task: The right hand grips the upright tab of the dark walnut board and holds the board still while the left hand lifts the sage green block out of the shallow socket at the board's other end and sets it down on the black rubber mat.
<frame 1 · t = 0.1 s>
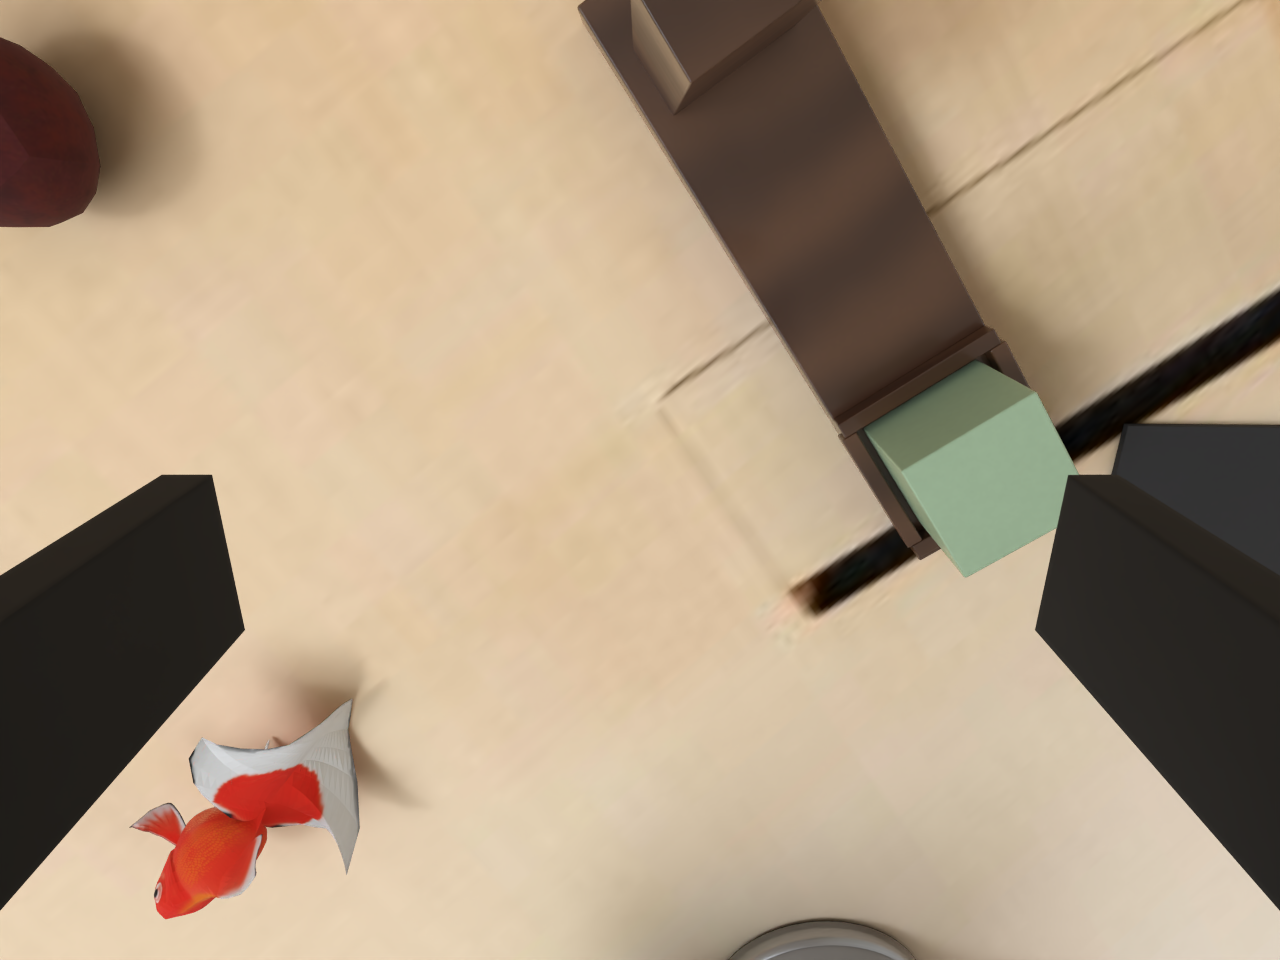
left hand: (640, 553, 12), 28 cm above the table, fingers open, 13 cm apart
rubber mat: (1220, 546, 43), on the table
green block: (946, 443, 38), point 3 cm above the table, touching walnut board
fish: (283, 756, 48), on the table
walnut board: (831, 261, 38), on the table, touching green block
dark red round piece: (55, 139, 36), on the table
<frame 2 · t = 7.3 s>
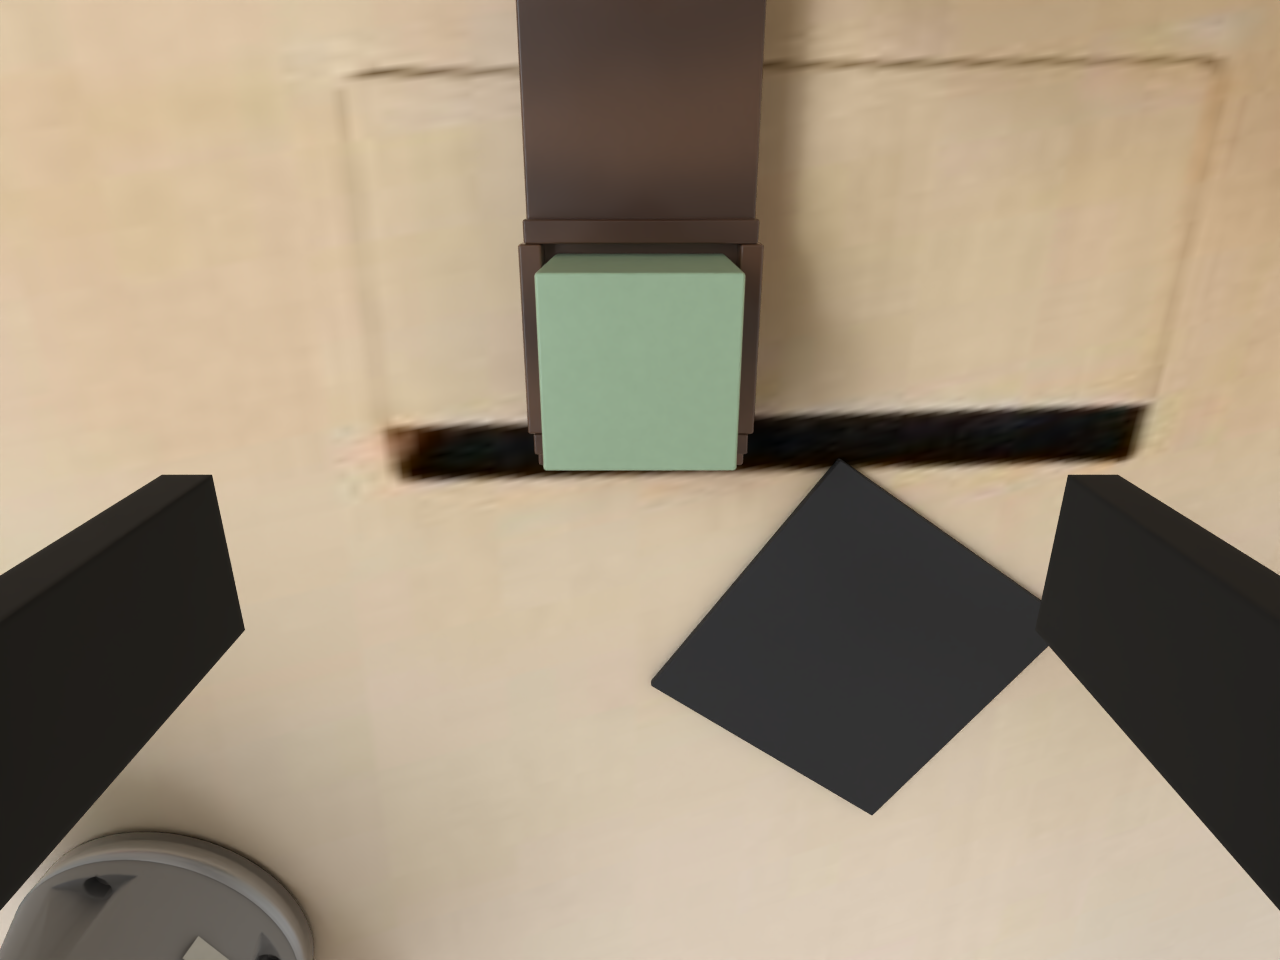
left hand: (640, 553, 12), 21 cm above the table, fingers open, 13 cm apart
rubber mat: (855, 650, 37), on the table
green block: (639, 337, 29), point 3 cm above the table, touching walnut board
walnut board: (640, 43, 28), on the table, touching green block, right hand
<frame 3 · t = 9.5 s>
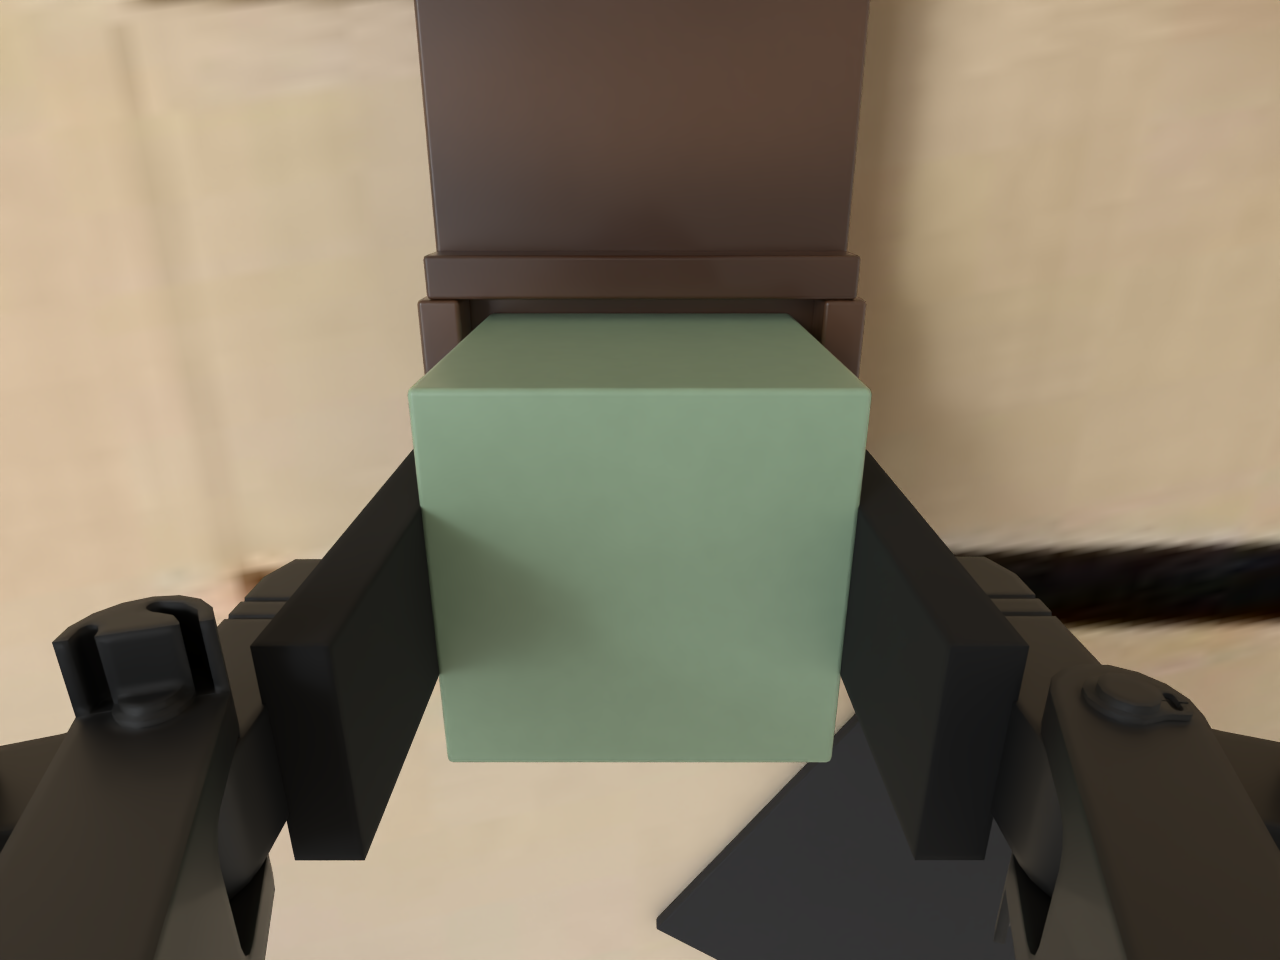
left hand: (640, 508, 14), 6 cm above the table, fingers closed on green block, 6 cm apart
rubber mat: (960, 879, 25), on the table
green block: (639, 454, 17), point 3 cm above the table, touching left hand, walnut board
when the left hand's fingers open (4 cm above the table, at t = 15.7 s): green block stays where it is, resting on rubber mat.
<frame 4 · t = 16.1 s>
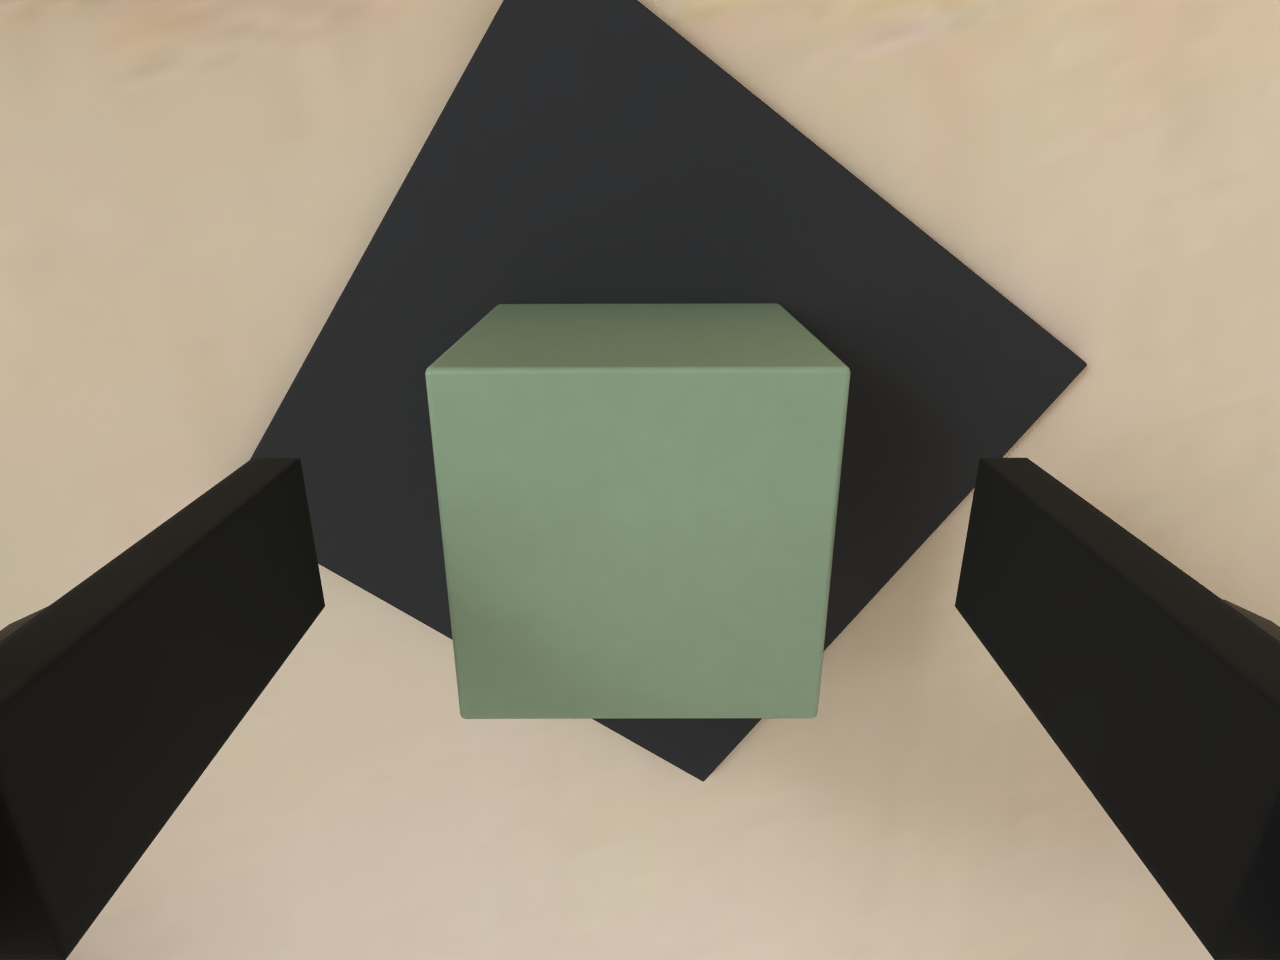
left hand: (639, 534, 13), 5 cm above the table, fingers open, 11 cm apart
rubber mat: (640, 434, 18), on the table
green block: (638, 438, 18), resting on rubber mat
when the right hand's fingers open (5 cm above the table, at t = 18.8 s): walnut board stays where it is, on the table.
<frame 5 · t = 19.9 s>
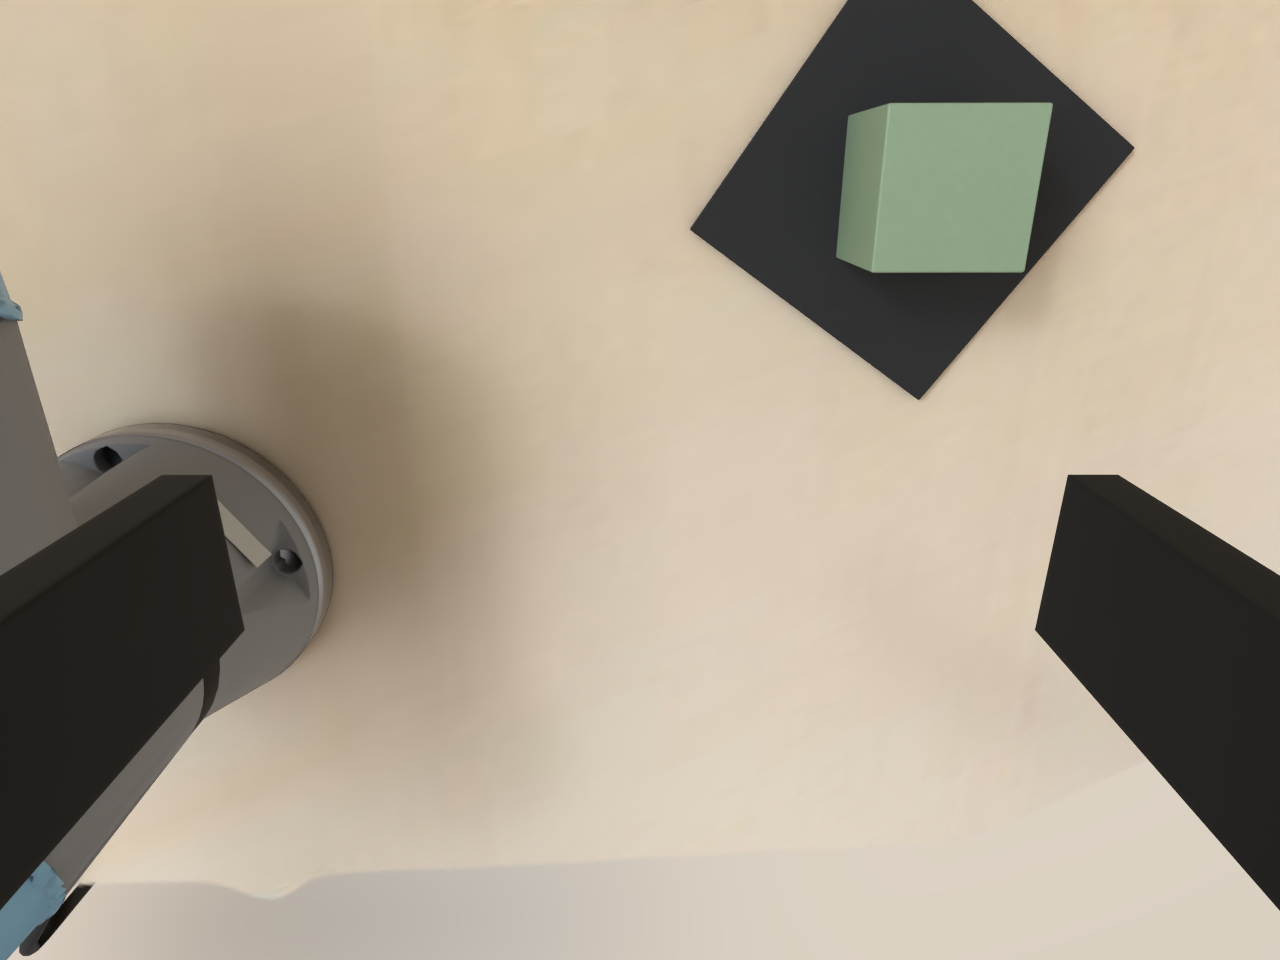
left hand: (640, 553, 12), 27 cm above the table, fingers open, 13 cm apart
rubber mat: (906, 189, 35), on the table
green block: (908, 188, 35), resting on rubber mat
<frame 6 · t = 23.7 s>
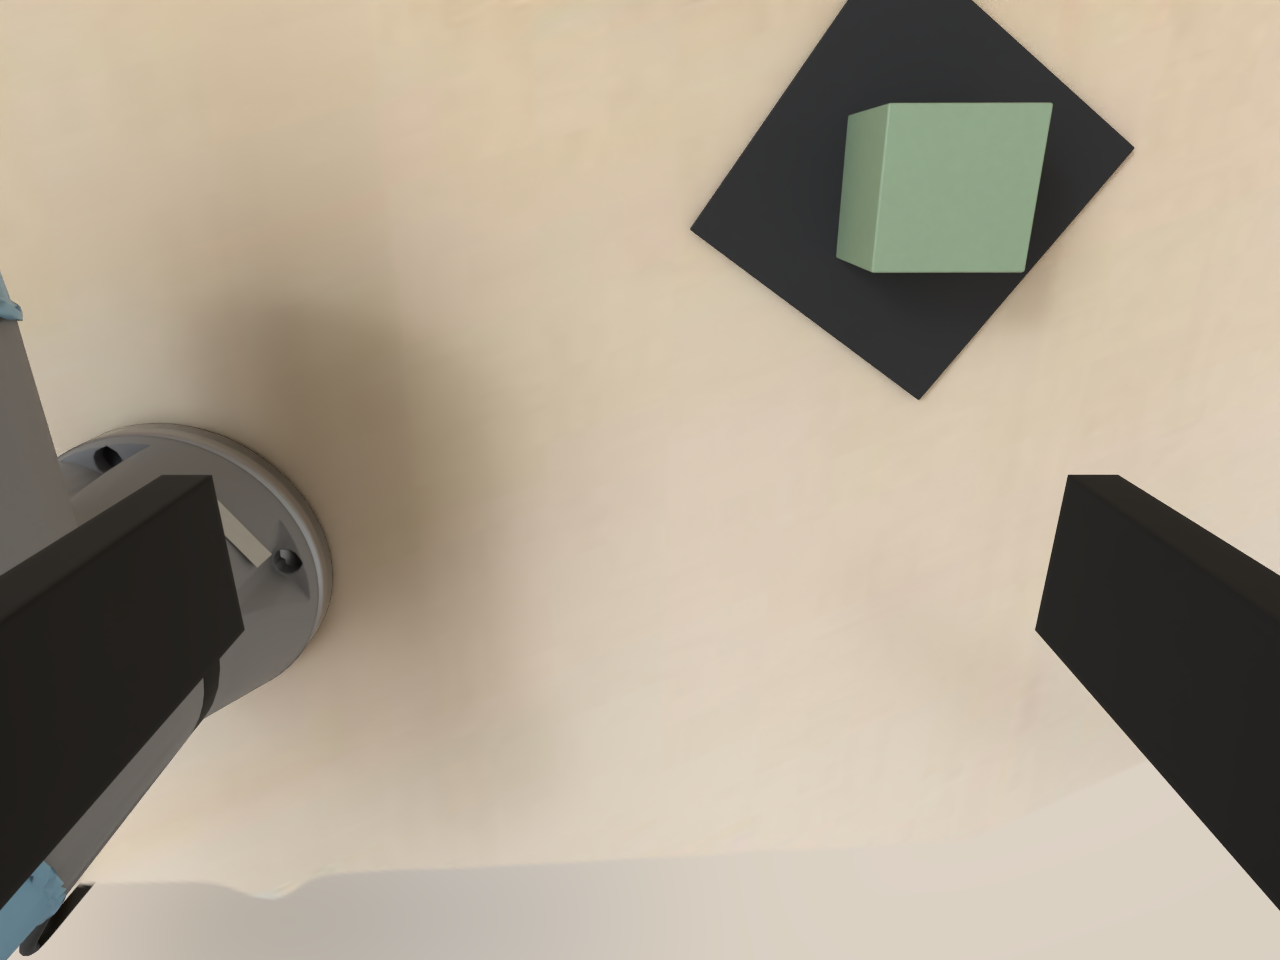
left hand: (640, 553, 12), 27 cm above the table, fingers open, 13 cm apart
rubber mat: (906, 189, 35), on the table
green block: (908, 188, 35), resting on rubber mat
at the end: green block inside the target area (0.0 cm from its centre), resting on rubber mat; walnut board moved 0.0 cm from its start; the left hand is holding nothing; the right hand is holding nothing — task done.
